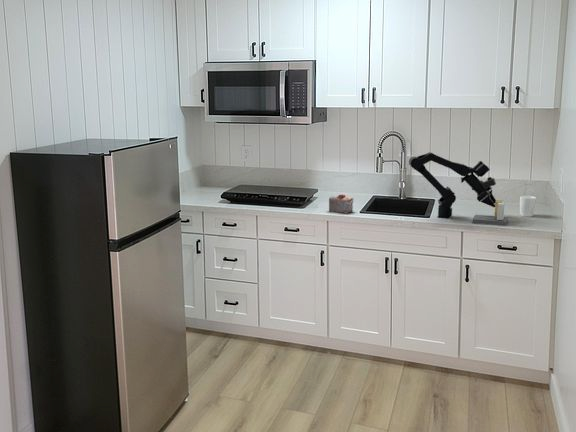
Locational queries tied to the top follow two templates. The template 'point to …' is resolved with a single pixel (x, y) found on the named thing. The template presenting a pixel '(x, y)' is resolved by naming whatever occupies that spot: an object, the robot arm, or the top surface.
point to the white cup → (527, 205)
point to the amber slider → (496, 206)
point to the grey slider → (500, 211)
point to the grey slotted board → (489, 220)
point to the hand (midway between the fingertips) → (495, 205)
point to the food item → (340, 203)
